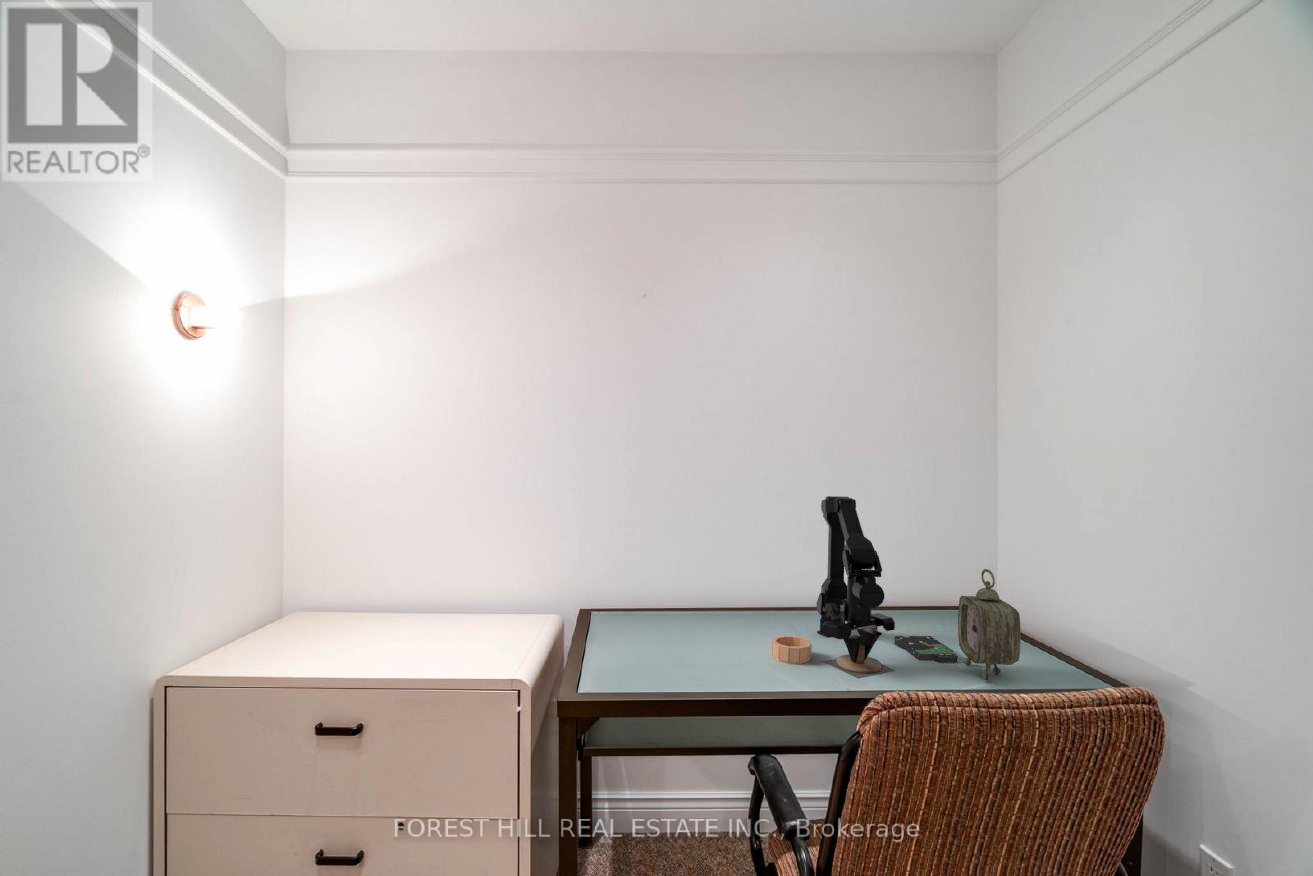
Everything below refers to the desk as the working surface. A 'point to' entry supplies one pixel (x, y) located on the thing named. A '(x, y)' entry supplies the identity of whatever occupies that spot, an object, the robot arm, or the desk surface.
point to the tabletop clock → (988, 629)
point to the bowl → (791, 649)
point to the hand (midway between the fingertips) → (858, 660)
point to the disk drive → (926, 648)
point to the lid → (859, 663)
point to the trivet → (858, 675)
